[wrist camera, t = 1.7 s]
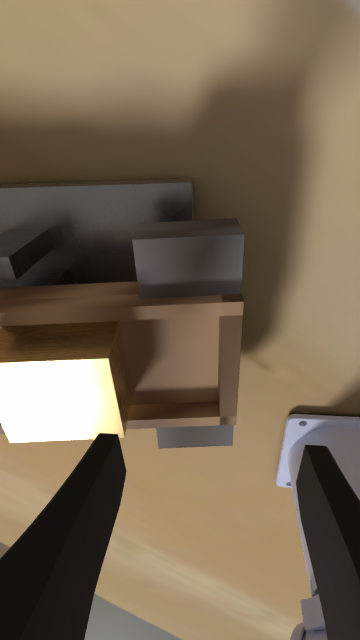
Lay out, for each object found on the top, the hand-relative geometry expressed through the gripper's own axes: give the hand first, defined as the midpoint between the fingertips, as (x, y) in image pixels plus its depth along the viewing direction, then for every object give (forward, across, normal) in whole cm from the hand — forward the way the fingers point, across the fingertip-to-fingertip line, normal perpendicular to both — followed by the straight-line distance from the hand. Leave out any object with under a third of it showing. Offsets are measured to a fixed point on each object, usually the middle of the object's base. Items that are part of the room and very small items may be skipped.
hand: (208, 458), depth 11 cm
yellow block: (+4, +6, 0) cm, 8 cm away
